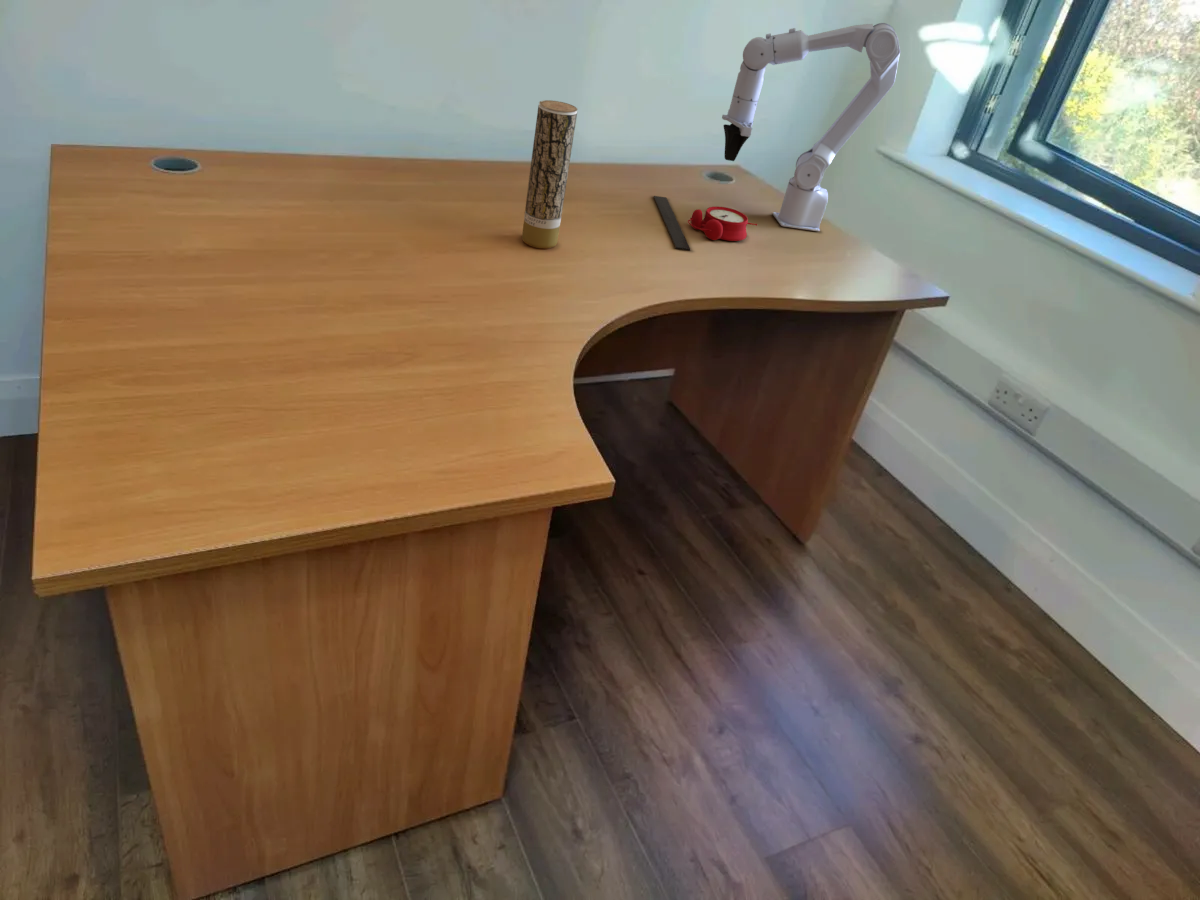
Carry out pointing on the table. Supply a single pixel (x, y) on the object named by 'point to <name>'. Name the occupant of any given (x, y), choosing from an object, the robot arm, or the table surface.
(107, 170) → the table surface
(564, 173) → the paper tube
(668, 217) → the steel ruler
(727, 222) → the alarm clock
